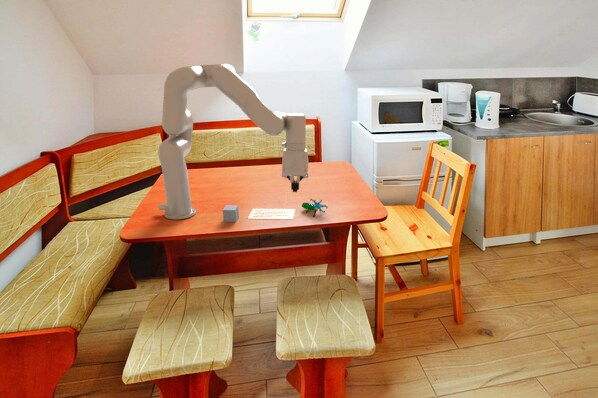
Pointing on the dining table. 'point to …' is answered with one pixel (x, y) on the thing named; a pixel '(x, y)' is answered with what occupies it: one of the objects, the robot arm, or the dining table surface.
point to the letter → (272, 214)
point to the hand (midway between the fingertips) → (295, 191)
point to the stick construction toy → (312, 207)
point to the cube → (230, 213)
